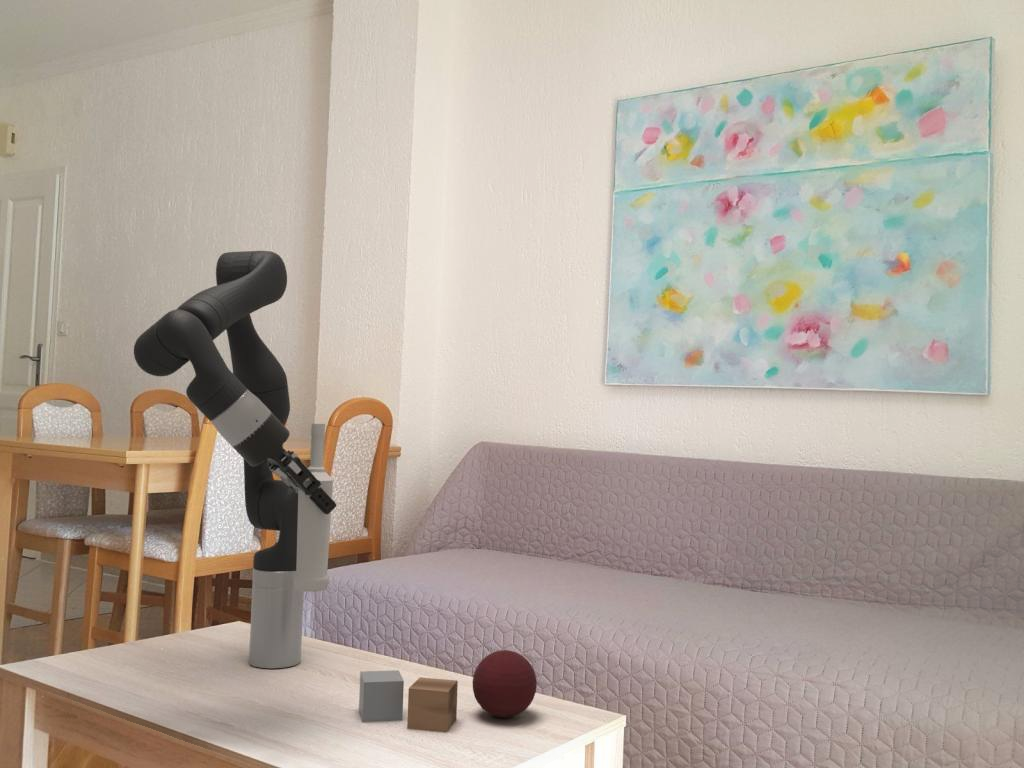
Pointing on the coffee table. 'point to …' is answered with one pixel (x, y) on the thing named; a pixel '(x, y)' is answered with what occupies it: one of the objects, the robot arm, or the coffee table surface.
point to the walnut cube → (432, 704)
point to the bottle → (313, 524)
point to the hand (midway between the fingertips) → (326, 507)
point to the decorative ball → (504, 684)
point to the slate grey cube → (381, 696)
